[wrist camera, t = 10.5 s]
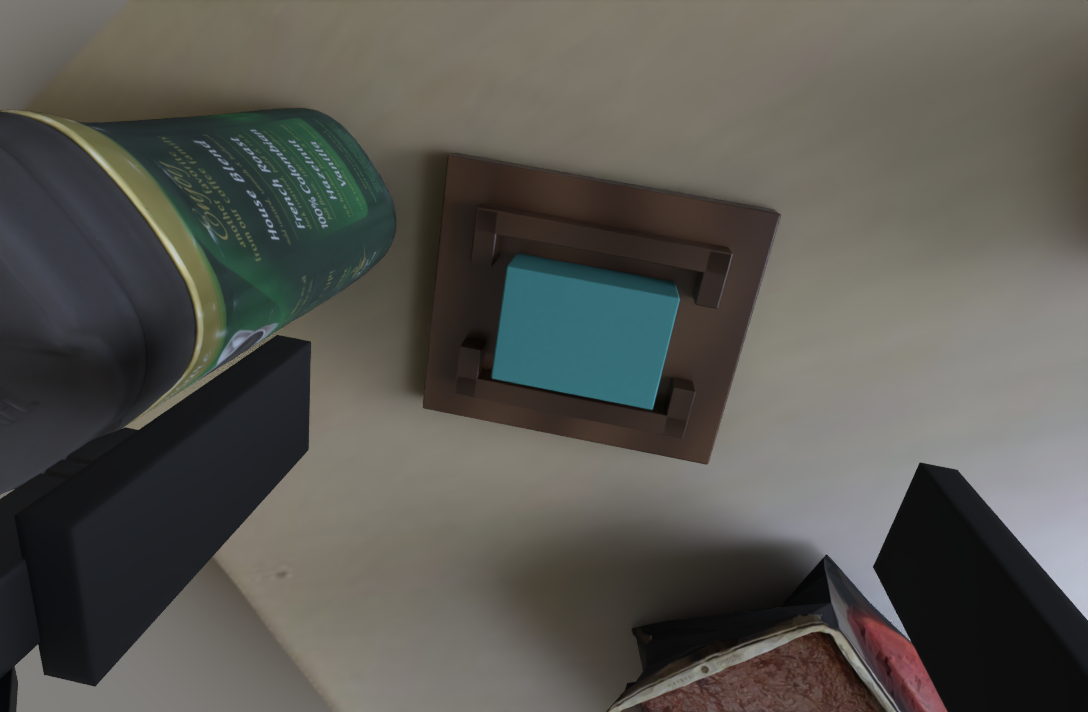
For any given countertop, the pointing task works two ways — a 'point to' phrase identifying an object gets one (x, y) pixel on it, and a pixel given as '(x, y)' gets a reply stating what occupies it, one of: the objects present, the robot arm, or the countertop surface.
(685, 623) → the rectangular planter
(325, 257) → the coffee jar
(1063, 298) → the countertop surface
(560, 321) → the pad
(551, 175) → the back plate
